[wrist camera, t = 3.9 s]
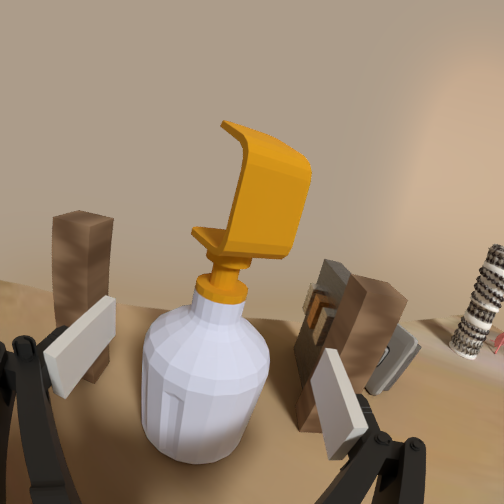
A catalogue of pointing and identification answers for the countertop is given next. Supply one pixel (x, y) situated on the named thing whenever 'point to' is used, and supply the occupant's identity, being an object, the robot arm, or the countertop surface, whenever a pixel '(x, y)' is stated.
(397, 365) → the electrical switch
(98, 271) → the gate
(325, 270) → the breaker panel
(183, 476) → the countertop surface
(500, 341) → the figurine
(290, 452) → the countertop surface
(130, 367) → the countertop surface
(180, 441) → the soap bottle
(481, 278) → the decorative candle
